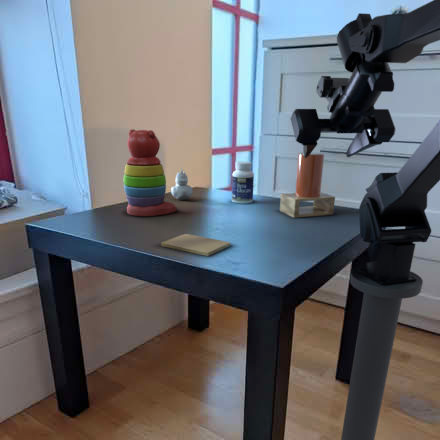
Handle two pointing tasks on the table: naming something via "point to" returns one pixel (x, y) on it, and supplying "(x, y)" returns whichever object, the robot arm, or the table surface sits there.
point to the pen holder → (309, 175)
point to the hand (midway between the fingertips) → (326, 155)
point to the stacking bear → (145, 176)
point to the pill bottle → (242, 183)
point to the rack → (320, 206)
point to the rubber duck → (181, 187)
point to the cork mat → (196, 244)
